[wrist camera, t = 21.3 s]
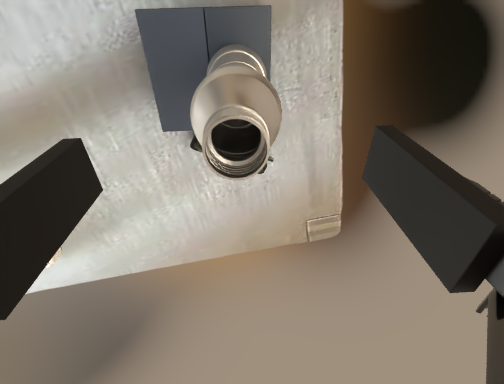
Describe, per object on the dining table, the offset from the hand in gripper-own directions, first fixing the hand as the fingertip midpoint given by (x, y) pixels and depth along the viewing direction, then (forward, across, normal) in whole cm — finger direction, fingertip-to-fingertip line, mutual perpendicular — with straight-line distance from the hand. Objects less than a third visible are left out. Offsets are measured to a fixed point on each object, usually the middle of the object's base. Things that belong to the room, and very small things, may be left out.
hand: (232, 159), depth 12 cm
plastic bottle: (+22, 0, 0) cm, 22 cm away
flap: (+22, -6, 0) cm, 23 cm away
